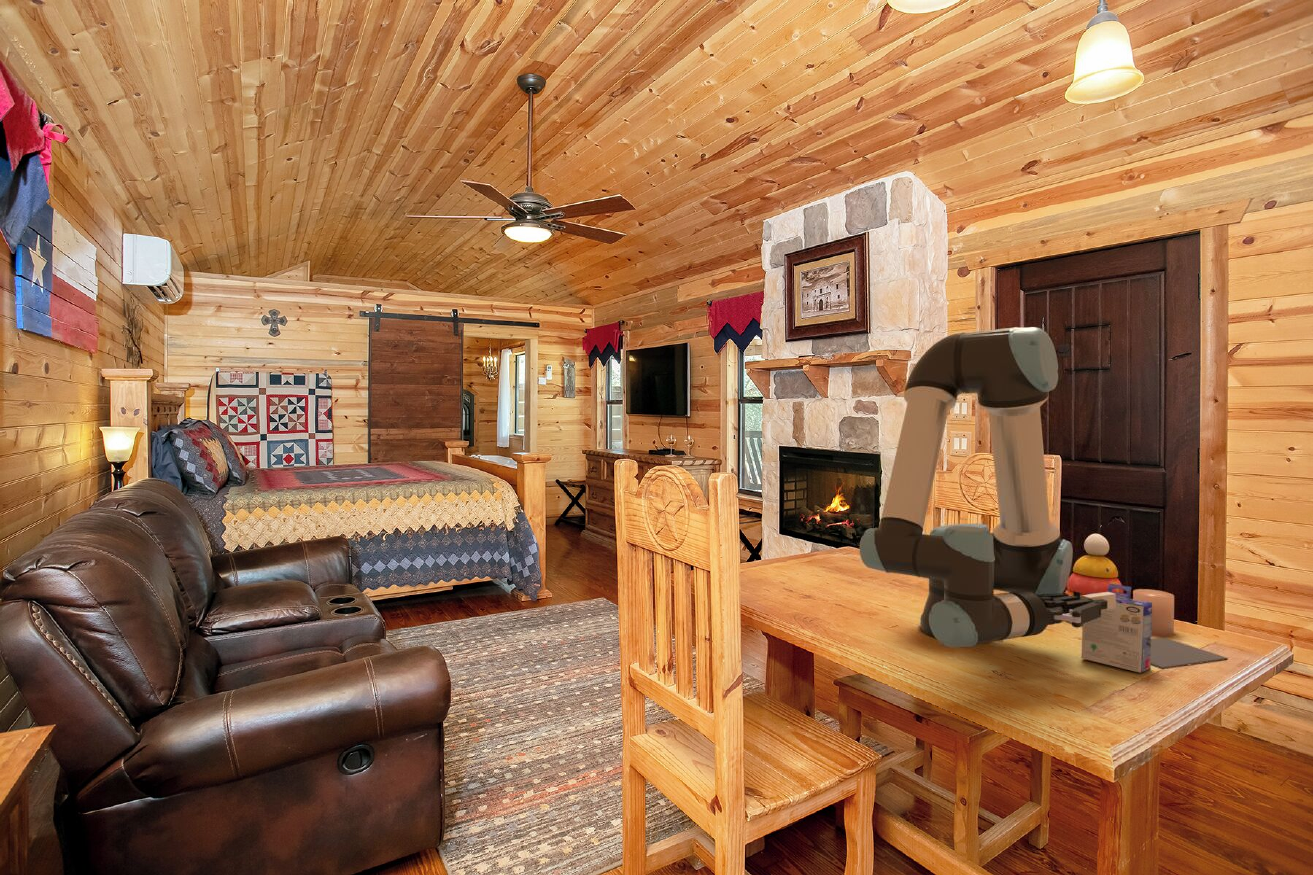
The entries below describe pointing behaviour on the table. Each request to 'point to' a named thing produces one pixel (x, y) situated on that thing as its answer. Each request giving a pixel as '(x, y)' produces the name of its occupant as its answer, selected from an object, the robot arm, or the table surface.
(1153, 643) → the mat
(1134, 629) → the ink cartridge box
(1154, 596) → the pink pillar candle
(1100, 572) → the stacking toy
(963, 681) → the table surface
